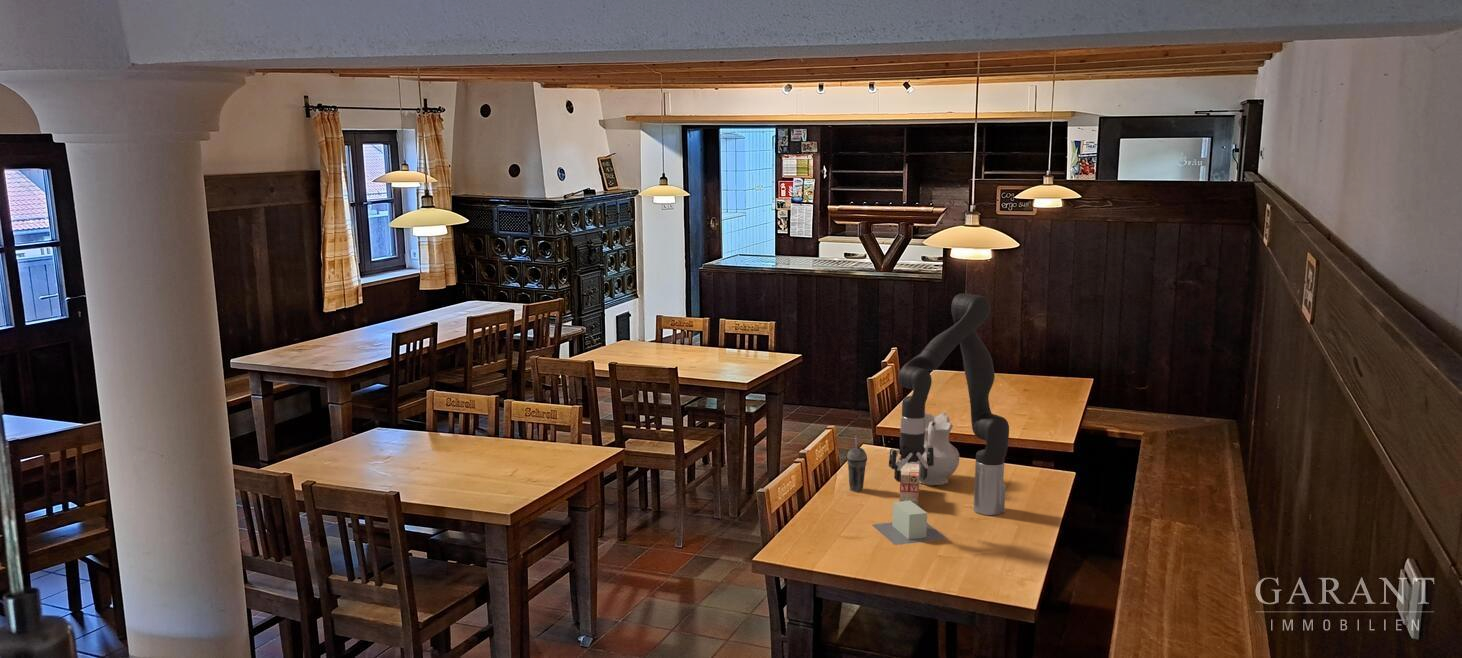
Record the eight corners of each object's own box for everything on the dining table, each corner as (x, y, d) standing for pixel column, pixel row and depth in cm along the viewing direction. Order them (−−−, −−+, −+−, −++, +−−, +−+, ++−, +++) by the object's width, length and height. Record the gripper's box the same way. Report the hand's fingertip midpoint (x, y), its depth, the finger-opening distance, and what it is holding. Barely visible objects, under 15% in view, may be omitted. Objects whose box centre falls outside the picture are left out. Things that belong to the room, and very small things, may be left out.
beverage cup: (869, 488, 373) (871, 434, 370) (861, 494, 367) (862, 439, 363) (851, 485, 377) (852, 431, 373) (842, 490, 371) (843, 436, 367)
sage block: (909, 524, 338) (910, 500, 336) (926, 537, 326) (927, 512, 325) (892, 525, 336) (893, 502, 335) (908, 539, 325) (909, 514, 323)
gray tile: (922, 520, 342) (922, 519, 342) (948, 539, 325) (948, 538, 325) (871, 525, 337) (871, 524, 337) (894, 545, 320) (894, 544, 320)
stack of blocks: (901, 488, 374) (902, 455, 372) (919, 489, 373) (920, 456, 370) (899, 508, 353) (900, 473, 351) (917, 510, 352) (919, 475, 350)
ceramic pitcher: (962, 494, 370) (970, 426, 366) (907, 490, 370) (915, 422, 366) (950, 475, 392) (958, 411, 387) (898, 471, 392) (906, 406, 387)
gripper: (928, 425, 331) (925, 474, 334) (886, 428, 327) (884, 478, 330) (939, 431, 324) (936, 482, 327) (896, 434, 320) (894, 485, 323)
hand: (910, 480), depth 328 cm, fingers open, 8 cm apart
